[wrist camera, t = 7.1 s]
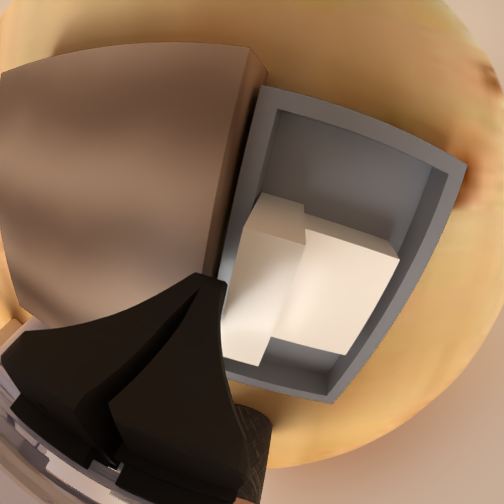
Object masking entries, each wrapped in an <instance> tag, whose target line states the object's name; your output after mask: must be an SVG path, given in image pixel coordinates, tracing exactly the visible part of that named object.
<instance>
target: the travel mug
mask: <svg viewBox="0 0 504 504" xmlns="http://www.w3.org/2000/svg"><path fill="white" fill-rule="evenodd" d="M234 406H235V409H236V412H237V415H238V417H239V420H240V423H241V425H242V428H243V430H244V433H245V435H246V438H247V446H248V453H249V463H250V473H249V480H248V482H247V483H246V484H245V485H244V486H243V487H241V488H240V489H239V490H238V494H237V498H236V501H235V502H234V503H233V504H260V499H261V494H262V489H263V482H264V477H265V472H266V466H267V460H268V454H269V447H270V441H271V433H272V424H271V422H270V420H269V419H268V418H267V417H266V416H264V415H263V414H261V413H260V412H258V411H256V410H253V409H251V408H248V407H245V406H241V405H237V404H234Z"/></svg>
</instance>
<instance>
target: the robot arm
mask: <svg viewBox="0 0 504 504" xmlns="http://www.w3.org/2000/svg"><path fill="white" fill-rule="evenodd" d="M227 287H228V284H227V283H226V282H225V281H222V280H219V279H216V278H213V277H210V276H207V275H204V274H201V273H197V272H195V273H193V274H191V275H189V276H188V277H186V278H184V279H183V280H181V281H179V282H178V283H176V284H174V285H173V286H171V287H169V288H168V289H166V290H164V291H162V292H160V293H159V294H157V295H155V296H153V297H151V298H149V299H147V300H145V301H143V302H141V303H139V304H137V305H135V306H133V307H131V308H128V309H126V310H123V311H121V312H118V313H115V314H113V315H110V316H107V317H103V318H100V319H96V320H93V321H89V322H86V323H82V324H77V325H72V326H66V327H61V328H53V329H52V328H50V327H49V326H47V325H46V324H45V323H43V322H42V321H40V320H39V319H37V318H36V317H35V316H32V317H31V318H30V319H29V320H28V321H26V322H25V323H24V324H23V325H22V326H21V327H20V328H19V329H18V330H17V331H16V332H15V333H14V334H13V335H12V336H11V337H10V338H9V339H8V340H7V341H6V342H5V343H4V344H3V345H2V346H1V347H0V504H100V503H98V502H96V501H94V500H93V499H91V498H89V497H88V496H86V495H84V494H83V493H81V492H79V491H78V490H76V489H75V488H73V487H71V486H70V485H68V484H67V483H65V482H64V481H62V480H61V479H59V478H58V477H57V476H55V475H54V474H53V473H51V472H50V471H49V470H47V469H46V466H47V464H48V462H49V461H50V460H49V458H48V457H47V456H45V453H46V451H47V450H49V451H50V452H52V453H53V454H54V455H56V456H57V457H59V458H60V459H61V460H63V461H64V462H66V463H67V464H68V465H70V466H71V467H73V468H75V469H76V470H77V471H79V472H81V473H82V474H84V475H85V476H87V477H89V478H90V479H92V480H94V481H95V482H97V483H99V484H101V485H102V486H104V487H106V488H108V489H110V490H112V491H114V492H116V493H117V494H119V495H121V496H124V497H126V498H128V499H130V500H132V501H134V502H136V503H139V504H233V503H234V502H235V501H236V498H237V494H238V490H239V489H240V488H241V487H243V486H244V485H245V484H246V483H247V482H248V480H249V473H250V463H249V453H248V446H247V438H246V435H245V433H244V430H243V428H242V425H241V423H240V420H239V417H238V415H237V412H236V409H235V406H234V403H233V400H232V396H231V392H230V388H229V385H228V380H227V376H226V372H225V366H224V360H223V353H222V344H221V314H222V309H223V305H224V300H225V296H226V291H227ZM108 466H109V467H110V468H113V469H115V470H118V471H120V474H119V473H118V472H116V471H114V470H112V469H110V468H108Z"/></svg>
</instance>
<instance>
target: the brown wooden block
mask: <svg viewBox="0 0 504 504" xmlns="http://www.w3.org/2000/svg"><path fill="white" fill-rule="evenodd" d="M267 72H268V71H267V70H266V68H265V67H264V66H263V64H262V63H261V61H260V60H259V59H258V57H257V56H256V55H255V53H254V52H253V51H252V49H251V48H249V47H242V46H234V45H224V44H213V43H196V42H150V43H133V44H122V45H113V46H105V47H98V48H92V49H86V50H80V51H75V52H70V53H66V54H61V55H57V56H53V57H49V58H46V59H42V60H38V61H35V62H32V63H29V64H25V65H22V66H19V67H17V68H14V69H11V70H8V71H6V72H3V73H1V78H0V230H1V235H2V241H3V246H4V250H5V255H6V259H7V263H8V267H9V271H10V275H11V279H12V282H13V286H14V289H15V292H16V295H17V298H18V302H19V304H20V306H21V307H23V308H24V309H25V310H26V311H28V312H29V313H31V314H32V315H33V316H35V317H36V318H37V319H39V320H40V321H42V322H43V323H45V324H46V325H47V326H49V327H50V328H52V329H53V328H61V327H66V326H72V325H77V324H82V323H86V322H89V321H93V320H96V319H100V318H103V317H107V316H110V315H113V314H115V313H118V312H121V311H123V310H126V309H128V308H131V307H133V306H135V305H137V304H139V303H141V302H143V301H145V300H147V299H149V298H151V297H153V296H155V295H157V294H159V293H160V292H162V291H164V290H166V289H168V288H169V287H171V286H173V285H174V284H176V283H178V282H179V281H181V280H183V279H184V278H186V277H188V276H189V275H191V274H193V273H195V272H197V273H201V274H204V275H207V276H210V277H213V278H216V279H217V278H218V273H219V268H220V263H221V258H222V253H223V249H224V244H225V239H226V234H227V229H228V225H229V220H230V215H231V211H232V206H233V201H234V197H235V192H236V188H237V183H238V179H239V174H240V170H241V166H242V161H243V157H244V153H245V148H246V144H247V140H248V136H249V132H250V128H251V123H252V119H253V115H254V111H255V107H256V103H257V99H258V95H259V91H260V88H261V85H264V83H265V79H266V75H267Z"/></svg>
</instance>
